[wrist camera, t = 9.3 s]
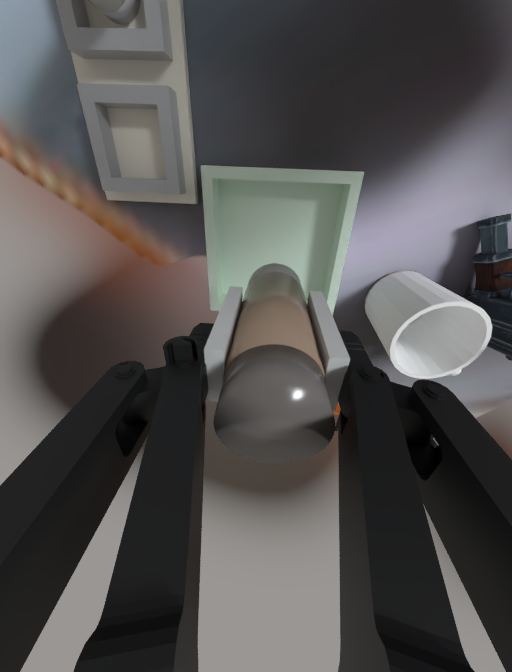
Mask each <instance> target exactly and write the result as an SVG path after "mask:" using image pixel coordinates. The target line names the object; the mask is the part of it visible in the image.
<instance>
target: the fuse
mask: <svg viewBox="0 0 512 672" xmlns="http://www.w3.org/2000/svg"><path fill="white" fill-rule="evenodd" d="M88 1H89V2H91V3H92V4H93V5H94V6H95V7H96V8H98V9H99V10H100V11H101V12H102V13H103V14H104V15H105V16H106V17H107V18H109V19H110V20H111V21H112V22H114V23H117V24H121V25H124V24H128V23H130V22H131V21H133V20H134V18H135V17H136V15H137V13H138V11H139V8H140V2H141V0H88Z"/></svg>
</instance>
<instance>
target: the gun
mask: <svg viewBox="0 0 512 672" xmlns="http://www.w3.org/2000/svg"><path fill="white" fill-rule="evenodd" d="M508 222H511V214H506V215H501V216H496V217H492V218H488V219H485V220H481V221H478V222H477V227H478V229H480V234H481V251H482V253H480V254H476V255H474V256H473V257H472V263H474V268H475V273H476V285H475V289H474V295H471V296H469V297H466V298H464V299H466V300H468V301H470V302H472V303H473V304H475V305H477V306H479V307H480V308H482V309H484V311H485V312H486V313H487V314H488V316H489V317H490V319H491V323H492V333H491V338H490V340H489V342H488V344H487V346H488V347H490V348H492V349H494V350H496V351H499V352H501V353H503V354H505V355H506V358H507V359H508V360H511V361H512V249H508V232H507V223H508Z"/></svg>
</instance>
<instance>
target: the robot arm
mask: <svg viewBox="0 0 512 672" xmlns="http://www.w3.org/2000/svg"><path fill="white" fill-rule="evenodd" d="M242 294H243V287H233V286H230V287H229V290H228V292H227V295H226V297H225V299H224V302H223V304H222V307H221V309H220V311H219V314H218V316H217V319H216V321H215V324H209V323H200V324H198V325H197V326H196V327H194V328H193V330H192V332H191V335H190V336H180V337H175V338H172V339H170V340H168V341H167V342H165V344H164V345H163V349H164V354H165V359H166V366H164V367H160V368H156V369H148V370H145V369H144V365H143V364H141V363H140V362H137V361H126V362H122V363H119V364H117V365H115V366H113V367H111V368H110V369H109V370H108V371H107V372H106V373H105V374H104V375H103V376H102V377H101V378H100V379H99V381H97V383H96V384H95V385H94V386H93V387H92V388H91V389H90V390H89V391H88V392H87V394H85V395H84V397H83V398H82V399H81V400H80V401H79V402H78V403H77V404H76V405H75V406H74V407H73V408H72V409H71V411H70V412H69V413H68V414H67V415H66V416H65V417H64V418H63V419H62V420H61V421H60V422H59V423H58V424H57V425H56V427H55V428H54V429H53V430H52V431H51V432H50V433H49V434H48V435H47V436H46V437H45V438H44V439H43V441H42V442H41V443H40V444H39V445H38V446H37V447H36V448H35V449H34V450H33V451H32V452H31V453H30V454H29V455H28V457H27V458H26V459H25V460H24V461H23V462H22V463H21V464H20V465H19V466H18V467H17V468H16V469H15V470H14V472H13V473H12V474H11V475H10V476H9V477H8V478H7V479H6V480H5V481H4V482H3V483H2V484H1V486H0V672H20V670H21V669H22V667H23V665H24V663H25V661H26V659H27V658H28V656H29V654H30V652H31V650H32V648H33V646H34V644H35V643H36V641H37V639H38V637H39V635H40V634H41V632H42V630H43V628H44V626H45V624H46V623H47V621H48V619H49V617H50V615H51V613H52V611H53V610H54V608H55V606H56V604H57V602H58V600H59V598H60V596H61V595H62V593H63V591H64V589H65V587H66V586H67V583H68V582H69V580H70V578H71V576H72V574H73V573H74V571H75V569H76V567H77V565H78V563H79V562H80V560H81V558H82V556H83V554H84V552H85V550H86V549H87V547H88V545H89V543H90V541H91V539H92V537H93V536H94V534H95V532H96V530H97V528H98V526H99V525H100V523H101V521H102V519H103V517H104V515H105V513H106V512H107V510H108V508H109V506H110V504H111V502H112V500H113V499H114V497H115V495H116V493H117V491H118V489H119V487H120V486H121V484H122V482H123V480H124V478H125V476H126V475H127V473H128V471H129V469H130V467H131V465H132V463H133V462H134V460H135V458H136V456H137V454H138V452H139V451H140V449H141V447H142V445H143V443H144V441H145V440H146V438H147V436H148V438H147V442H146V445H145V449H144V454H143V457H142V461H141V465H140V469H139V473H138V477H137V480H136V485H135V488H134V492H133V496H132V500H131V504H130V508H129V512H128V516H127V519H126V524H125V527H124V531H123V535H122V539H121V543H120V547H119V551H118V555H117V559H116V562H115V566H114V570H113V574H112V578H111V582H110V586H109V590H108V594H107V598H106V601H105V605H104V609H103V612H102V616H101V619H100V621H99V624H98V626H97V628H96V630H95V631H94V632H93V634H92V635H91V637H90V638H89V639H88V641H87V642H86V644H85V645H84V648H83V650H82V652H81V654H80V656H79V659H78V661H77V663H76V666H75V669H74V672H198V647H197V645H198V609H199V582H200V554H201V528H202V501H203V473H204V447H205V420H206V405H205V400H206V397H207V394H208V401H215V402H218V400H219V396H220V392H221V388H222V384H223V375H224V371H225V367H226V363H227V359H228V356H229V352H230V348H231V344H232V340H233V336H234V333H235V329H236V325H237V321H238V317H239V313H240V310H241V306H242ZM307 307H308V310H309V314H310V318H311V322H312V326H313V330H314V334H315V338H316V342H317V346H318V350H319V353H320V357H321V361H322V365H323V369H324V373H325V378H326V387H327V391H328V395H329V399H330V403H331V407H332V410H336V407H337V403H338V401H339V405H340V408H341V410H340V414H339V417H338V420H337V423H336V427H335V431H337V430H338V440H339V441H338V444H339V445H338V447H339V532H340V533H339V535H340V537H339V538H340V539H339V540H340V634H341V650H340V664H339V670H338V672H474V671H473V669H472V668H471V667H470V665H469V663H468V661H467V659H466V657H465V654H464V651H463V649H462V646H461V642H460V638H459V635H458V631H457V627H456V624H455V620H454V616H453V613H452V609H451V605H450V602H449V598H448V594H447V590H446V587H445V583H444V579H443V576H442V572H441V568H440V565H439V561H438V557H437V554H436V550H435V546H434V542H433V539H432V535H431V532H430V528H429V524H428V520H427V516H426V513H425V509H424V506H425V508H426V510H427V512H428V514H429V516H430V518H431V520H432V522H433V524H434V526H435V528H436V530H437V532H438V534H439V536H440V538H441V540H442V543H443V544H444V547H445V548H446V550H447V553H448V555H449V557H450V559H451V561H452V563H453V565H454V567H455V569H456V571H457V573H458V575H459V577H460V579H461V581H462V583H463V585H464V587H465V589H466V591H467V593H468V595H469V597H470V599H471V601H472V603H473V605H474V607H475V610H476V612H477V614H478V615H479V618H480V620H481V622H482V624H483V626H484V628H485V630H486V632H487V634H488V636H489V638H490V640H491V642H492V644H493V646H494V648H495V650H496V652H497V654H498V656H499V658H500V660H501V662H502V664H503V666H504V668H505V670H506V672H512V460H511V458H509V456H508V455H507V454H506V453H505V452H504V451H503V449H502V448H501V447H500V446H499V445H498V444H497V443H496V441H495V440H494V439H493V438H492V437H491V436H490V435H489V433H488V432H487V431H486V430H485V429H484V428H483V427H482V426H481V424H480V423H479V422H478V421H477V420H476V419H475V418H474V416H473V415H472V414H471V413H470V412H469V411H468V410H467V409H466V407H465V406H464V405H463V404H462V403H461V402H460V401H459V399H458V398H457V397H456V396H455V395H454V394H453V393H452V392H451V391H450V390H449V389H448V388H446V387H444V386H443V385H441V384H439V383H437V382H434V381H430V380H417V381H416V382H414V384H413V386H412V388H411V387H407V386H404V385H400V384H396V383H393V382H391V381H390V380H389V378H388V376H387V374H386V373H385V372H383V371H382V370H381V369H379V368H377V367H374V366H373V365H372V363H371V361H370V359H369V357H368V355H367V353H366V351H365V350H364V348H363V346H362V345H361V342H360V340H359V338H358V337H357V336H356V335H355V334H353V333H352V332H350V331H338V328H337V326H336V323H335V321H334V319H333V316H332V314H331V311H330V309H329V307H328V304H327V302H326V299H325V297H324V295H323V292H321V291H309V296H308V302H307ZM433 438H435V440H436V441H437V443H438V444H439V446H438V445H437V444H436V443H435V441H434V440H433ZM423 504H424V506H423Z"/></svg>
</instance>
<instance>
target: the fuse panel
mask: <svg viewBox="0 0 512 672" xmlns="http://www.w3.org/2000/svg"><path fill="white" fill-rule="evenodd" d="M56 5H57V9H58V13H59V17H60V21H61V25H62V29H63V33H64V37H65V41H66V45H67V49H68V50H70V51H71V55H72V59H73V63H74V67H75V71H76V75H77V80H78V83H76V85H77V89H78V93H79V97H80V101H81V105H82V109H83V113H84V117H85V121H86V125H87V129H88V133H89V137H90V141H91V145H92V149H93V153H94V157H95V161H96V165H97V169H98V173H99V177H100V181H101V185H102V189H103V191H105V194H106V198H107V200H118V201H139V202H161V203H183V204H198V191H197V178H196V165H195V152H194V139H193V126H192V112H191V99H190V86H189V73H188V60H187V47H186V34H185V21H184V8H183V0H141V2H140V8H139V11H138V13H137V15H136V17H135V18H134V20H133V21H131V22H130V23H128V24H124V25H121V24H117V23H114V22H112V21H111V20H110V19H109V18H107V17H106V16H105V15H104V14H103V13H102V12H101V11H100V10H99V9H98V8H96V7H95V6H94V5H93V4H92V3H91V2H89V1H88V0H56Z"/></svg>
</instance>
